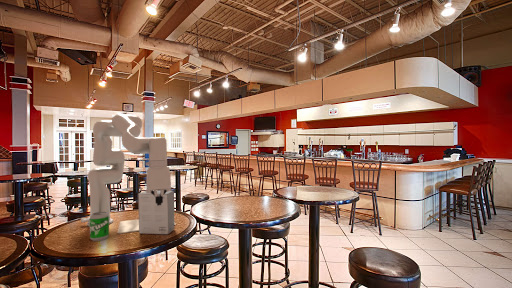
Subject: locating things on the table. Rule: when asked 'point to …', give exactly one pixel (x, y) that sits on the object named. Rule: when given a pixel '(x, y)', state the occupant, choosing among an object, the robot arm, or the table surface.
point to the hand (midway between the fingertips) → (159, 204)
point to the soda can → (99, 226)
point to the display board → (129, 226)
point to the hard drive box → (156, 213)
